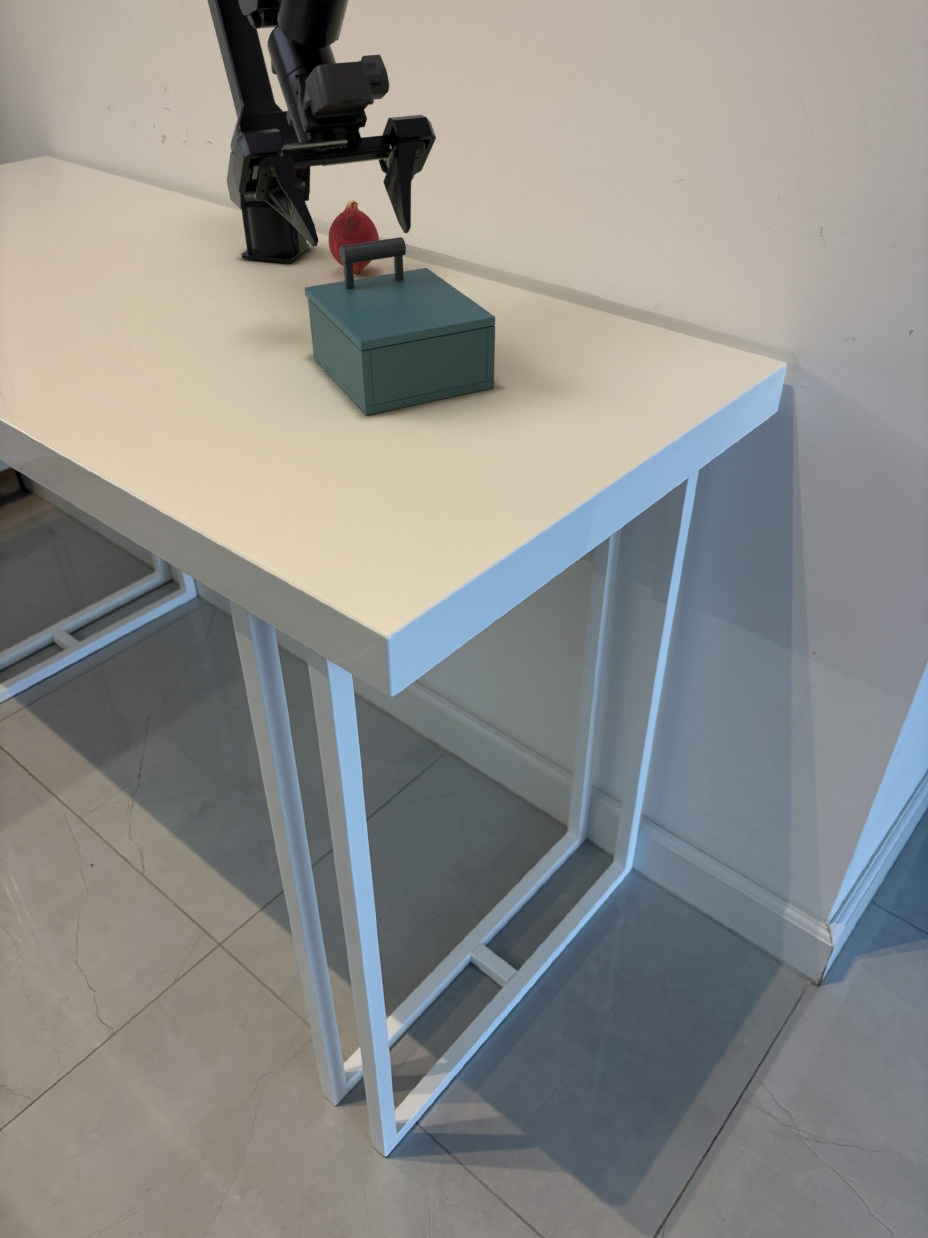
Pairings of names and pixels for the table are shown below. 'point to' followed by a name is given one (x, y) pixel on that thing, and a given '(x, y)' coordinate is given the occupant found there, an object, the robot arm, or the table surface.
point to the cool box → (404, 365)
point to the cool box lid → (394, 300)
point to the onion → (351, 232)
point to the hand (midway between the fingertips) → (362, 237)
